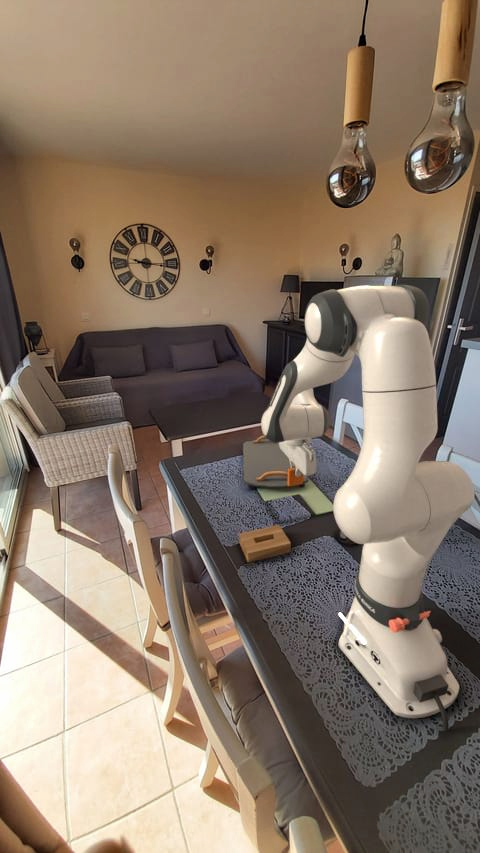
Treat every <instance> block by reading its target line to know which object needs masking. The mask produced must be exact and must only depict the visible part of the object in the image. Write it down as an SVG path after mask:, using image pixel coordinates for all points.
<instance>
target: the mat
mask: <svg viewBox="0 0 480 853" xmlns="http://www.w3.org/2000/svg"><path fill="white" fill-rule="evenodd" d="M308 479H309V481H308V482H306V483H305V486H304V487H300V486H299V485H294V486H290V487H261V486H259V487H256V490H257V492H258V493H259V495H260V496H261V498H262V499H263V501H264V502H267V501H273V500H277V499H283V498H287V497H292V496H296V495H299V496H300V497H301V498H302V500H303V501H304V502H305V503H306V505H308V507H309V508H310V509H311V510H312V512H313V513H314V514H315V515H316V516H319V515H323V514H328V513H332V512H334V511H333V503H332V502H331V500H330V499H328V497H327V496H326V495H325V494H324V493H323V492H322V491H321V490H320V489H319V488H318V486H316V484H315V483H314V482H313V481H312V480H311V479H310V478H309V477H308Z"/></svg>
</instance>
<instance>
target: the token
mask: <svg viewBox="0 0 480 853" xmlns="http://www.w3.org/2000/svg"><path fill="white" fill-rule="evenodd" d="M294 470H296V468H291V469H288V486H289V487H290V486H294V485H299V484H303V473H302V472H301V476H298V477H296V475H295V474H294Z"/></svg>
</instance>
